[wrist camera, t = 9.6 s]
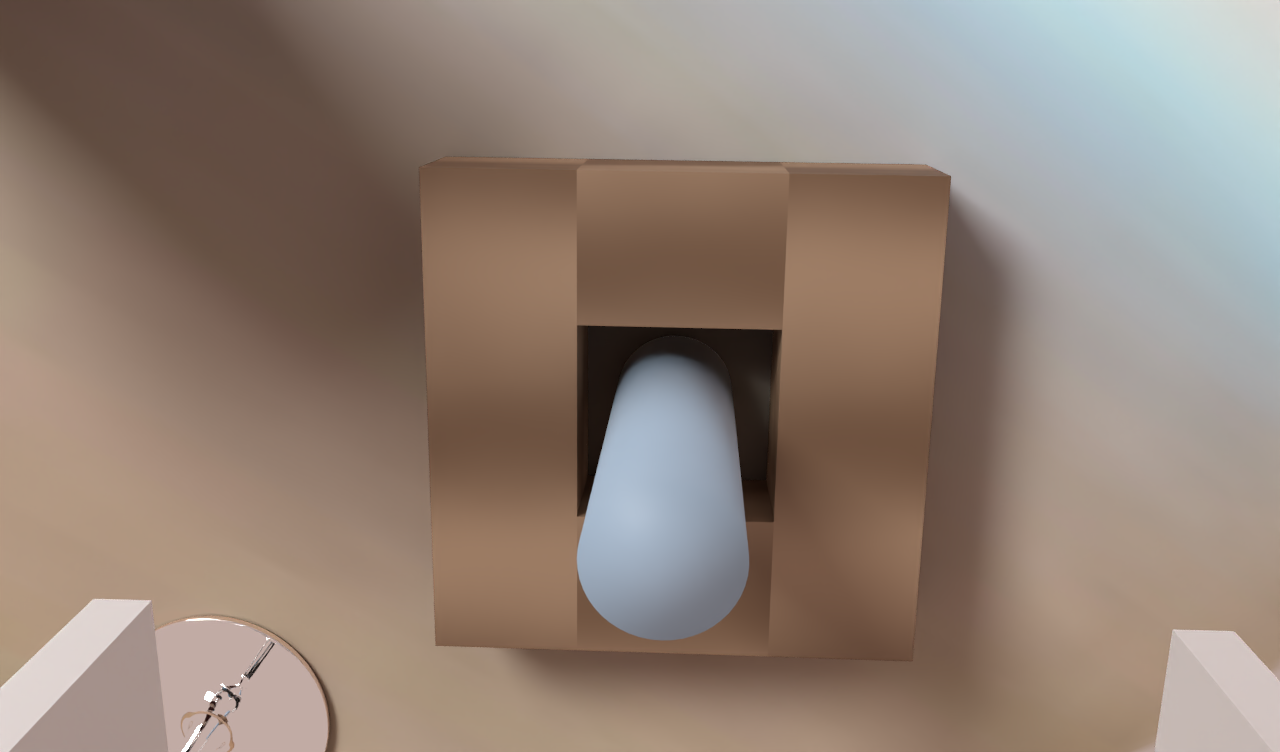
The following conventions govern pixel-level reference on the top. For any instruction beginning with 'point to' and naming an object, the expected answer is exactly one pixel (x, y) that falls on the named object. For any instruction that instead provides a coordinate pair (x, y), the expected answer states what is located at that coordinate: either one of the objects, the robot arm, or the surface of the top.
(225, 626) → the wineglass
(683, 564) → the peg
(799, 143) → the top surface
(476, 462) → the hole block
